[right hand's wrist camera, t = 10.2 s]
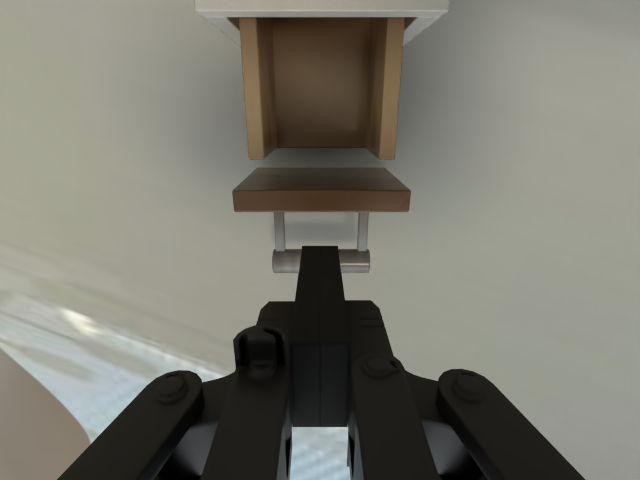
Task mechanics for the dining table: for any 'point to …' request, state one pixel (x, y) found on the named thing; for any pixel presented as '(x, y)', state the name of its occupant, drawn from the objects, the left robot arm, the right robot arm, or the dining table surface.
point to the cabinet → (321, 12)
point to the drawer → (321, 120)
